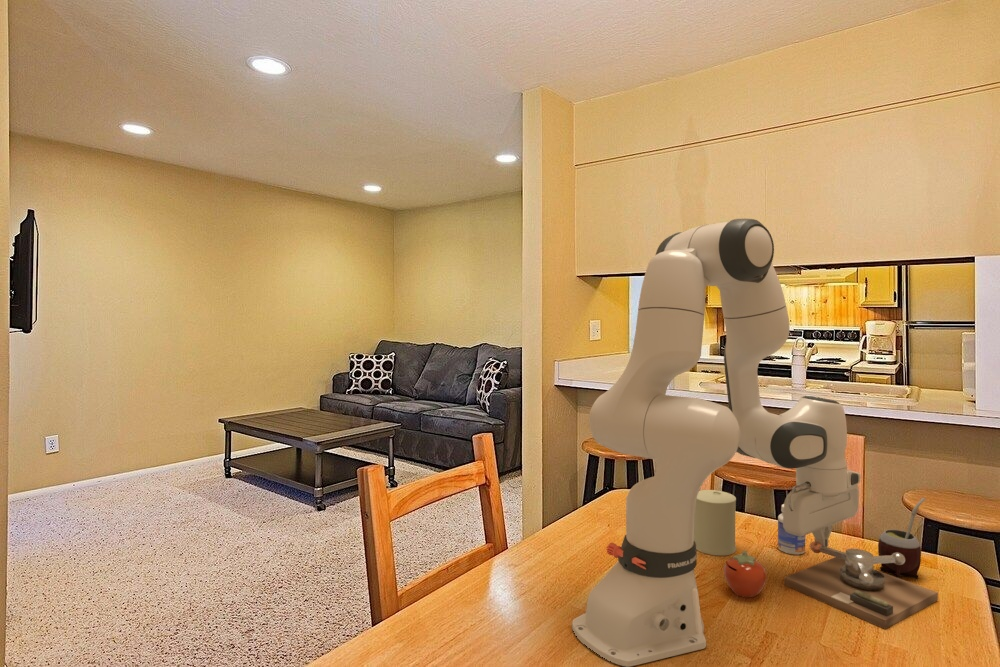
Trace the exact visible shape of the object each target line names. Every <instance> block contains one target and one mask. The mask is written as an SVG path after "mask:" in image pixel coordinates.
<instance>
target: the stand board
mask: <svg viewBox="0 0 1000 667" xmlns="http://www.w3.org/2000/svg"><path fill="white" fill-rule="evenodd" d="M844 565H845V560H843V559H840V558H837V557H833V558H831V559H827V560H825V561H823V562H819V563H816V564H815V565H812V566H809V567H807V568H804V569H802V570H799V571H797V572H795V573H792V574H790V575H786V576H785V577H783V579H784V580H783V581H784V582H783V585H784V586H785V587H787V588H791V589H792V590H795V591H797V592H800V593H802V594H805V595H806V596H808V597H811V598H813V599H816V600H818V601H819V602H822V603H824V604H826V605H829V606H831V607H834V608H836V609H837V610H840V611H842V612H845V613H847V614H850V615H852V616H854V617H856V618H859V619H861V620H863V621H865V622H868V623H870V624H873V625H875V626H877V627H879V628H882V629H884V630H886V629H889V628H890V627H892V626H895V624H897V623H899V622H901V621H903V620H905V619H907V618H908V617H910V616H912V615H914V614H916V613H918V612H920V611H921V610H923V609H925V608H927V607H929V606H930V605H932V604H934V603H936V602H937V600H939V599H938V598H939V592H938V591H935V590H933V589H930V588H927V587H924V586H922V585H919V584H916V583H913V582H911V581H907V580H905V579H902V578H901V579H900V578H897V577H896V576H894V575H890V574H888V573H887V572H884V571H881V570H878V571H879V572H880V573H882V574H883V575H884V588H882V589H880V590H864V589H860V588H856V587H853V586H850V585H848V584H846V583H845V582H843V581H842V580H841V578H840V568H841V567H842V566H844Z"/></svg>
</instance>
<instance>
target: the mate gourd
mask: <svg viewBox="0 0 1000 667" xmlns="http://www.w3.org/2000/svg"><path fill="white" fill-rule="evenodd" d="M925 500H926V498H925V497H922V498H921V499H920V500H919V501H918V502H917V503H916V504H915V506H914V508H912V510H911V516H910V519H909V523H908V526H907V530H906V531H904V530H899V529H886V530H884V531H883V532H882V533H881V534H880V536H879V539H878V544H877V550H878V551H877V552H878V553H877V554H878V556H886V555H892V554H893V553H896V552H898V553H901V554H902V555H903V556H904V557H905V563H904V564H902V565H897V564H895V563H883V564H880V567H879V571H880V572H884V573H890V574H894V575H895V577H897V578H900V579H902V576H904V577H907V578H911V579H919V574H918V572H919V569H920V567H921V563H922V548H921V544H920V543H921V542H919V539H918V538H917V537H916V536H915V535H913V533H911V531H912V528H913V525H914V521H915V516H916V515H917V514H918V510H919V508H920V506H921V505H922V504H923V502H924V501H925Z"/></svg>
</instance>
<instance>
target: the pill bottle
mask: <svg viewBox="0 0 1000 667" xmlns="http://www.w3.org/2000/svg"><path fill="white" fill-rule="evenodd" d="M784 504H785V503H783V504H781V507H780V511H781V513H780V514H779V515H778V516H777V548H778V549H779V550H780V552H781V551H782V552H783V553H785V554H789V555H799V556H800V555H803V554H804V553H805V552H806V535H804V536H801V537H800V536H796V535H793V534H790V533H788V532H786V531H785V529H784V528H783V513H784Z"/></svg>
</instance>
